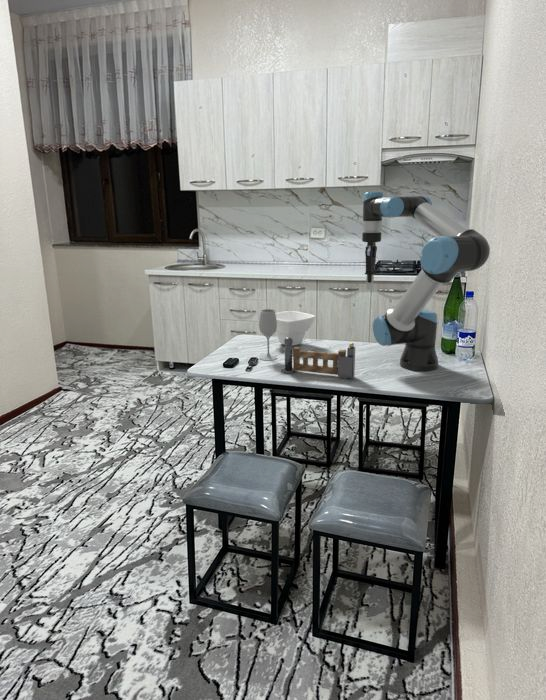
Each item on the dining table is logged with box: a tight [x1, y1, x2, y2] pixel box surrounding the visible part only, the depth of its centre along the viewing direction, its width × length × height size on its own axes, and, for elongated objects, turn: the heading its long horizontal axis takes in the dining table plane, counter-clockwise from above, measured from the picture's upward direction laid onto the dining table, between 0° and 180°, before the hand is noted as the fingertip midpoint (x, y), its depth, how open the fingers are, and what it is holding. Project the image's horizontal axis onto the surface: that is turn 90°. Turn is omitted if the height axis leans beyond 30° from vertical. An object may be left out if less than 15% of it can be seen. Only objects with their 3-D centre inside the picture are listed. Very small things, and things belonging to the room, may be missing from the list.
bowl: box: [275, 310, 317, 347], centre depth 244 cm, size 19×19×14 cm
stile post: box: [337, 342, 356, 380], centre depth 198 cm, size 5×5×14 cm
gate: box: [292, 346, 347, 376], centre depth 202 cm, size 20×2×10 cm, turn 69°
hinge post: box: [280, 337, 297, 375], centre depth 206 cm, size 6×6×14 cm
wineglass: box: [258, 308, 278, 362], centre depth 223 cm, size 8×8×21 cm
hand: (369, 289), depth 216 cm, fingers closed
